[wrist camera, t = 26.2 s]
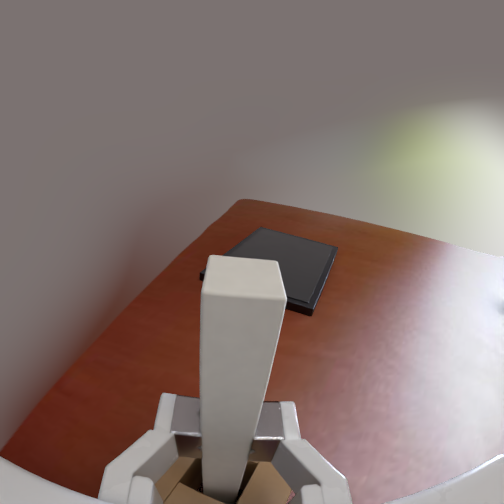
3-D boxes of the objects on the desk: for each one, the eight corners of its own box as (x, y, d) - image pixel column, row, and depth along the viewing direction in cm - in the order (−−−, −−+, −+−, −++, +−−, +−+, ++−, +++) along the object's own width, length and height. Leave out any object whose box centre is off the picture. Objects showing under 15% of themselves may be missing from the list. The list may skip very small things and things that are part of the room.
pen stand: (139, 511, 11) (118, 487, 9) (194, 440, 17) (192, 400, 14) (246, 561, 9) (259, 556, 7) (288, 478, 14) (309, 445, 12)
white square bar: (204, 508, 11) (200, 291, 5) (205, 486, 13) (208, 253, 7) (233, 510, 12) (288, 297, 5) (232, 487, 13) (278, 259, 7)
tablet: (311, 316, 31) (313, 308, 31) (199, 279, 36) (199, 271, 35) (336, 252, 49) (338, 246, 48) (259, 232, 53) (260, 226, 52)
